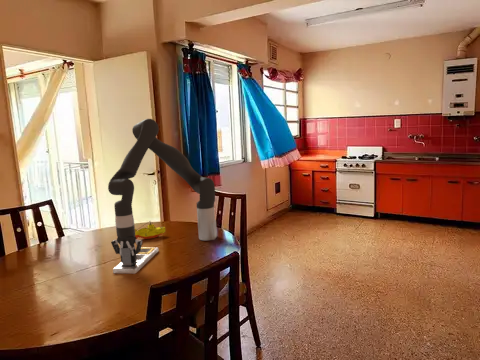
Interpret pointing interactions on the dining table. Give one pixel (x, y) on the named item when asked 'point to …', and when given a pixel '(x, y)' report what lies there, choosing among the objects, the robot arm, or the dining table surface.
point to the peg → (127, 257)
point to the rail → (144, 255)
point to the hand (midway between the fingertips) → (129, 262)
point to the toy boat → (149, 232)
